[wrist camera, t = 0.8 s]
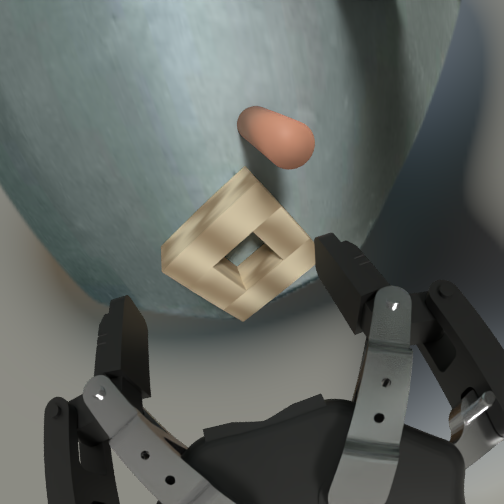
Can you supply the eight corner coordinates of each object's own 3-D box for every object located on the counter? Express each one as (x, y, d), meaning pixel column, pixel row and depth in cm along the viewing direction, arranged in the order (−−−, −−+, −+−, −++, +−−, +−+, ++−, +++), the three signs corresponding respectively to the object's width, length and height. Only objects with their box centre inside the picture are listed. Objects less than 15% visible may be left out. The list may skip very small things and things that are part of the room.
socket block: (245, 165, 31) (258, 181, 27) (308, 235, 40) (324, 256, 36) (161, 246, 34) (161, 271, 30) (234, 297, 42) (243, 321, 39)
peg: (257, 98, 27) (296, 110, 19) (279, 125, 30) (323, 147, 22) (229, 122, 28) (256, 143, 20) (252, 148, 30) (286, 179, 23)
